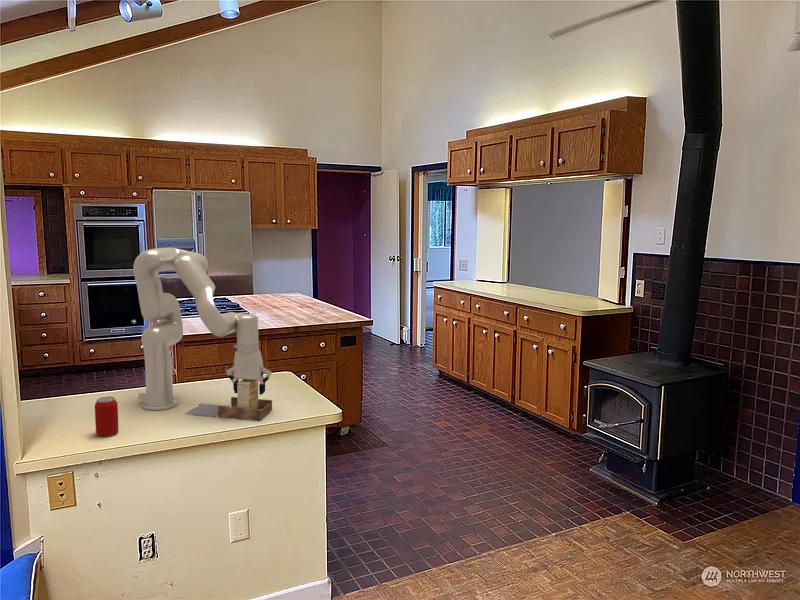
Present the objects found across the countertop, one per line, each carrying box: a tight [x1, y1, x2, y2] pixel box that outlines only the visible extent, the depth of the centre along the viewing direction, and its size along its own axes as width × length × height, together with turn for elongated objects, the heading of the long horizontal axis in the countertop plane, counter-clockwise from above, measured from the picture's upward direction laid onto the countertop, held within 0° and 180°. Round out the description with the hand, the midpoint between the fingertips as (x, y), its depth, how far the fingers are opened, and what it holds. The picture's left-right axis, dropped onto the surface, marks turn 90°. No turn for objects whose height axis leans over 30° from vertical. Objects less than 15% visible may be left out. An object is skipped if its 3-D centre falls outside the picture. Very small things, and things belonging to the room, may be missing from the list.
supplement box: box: [236, 379, 259, 409], centre depth 217 cm, size 8×5×13 cm, turn 168°
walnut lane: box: [217, 396, 273, 422], centre depth 218 cm, size 16×12×4 cm
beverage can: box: [94, 396, 119, 437], centre depth 194 cm, size 7×7×12 cm
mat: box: [184, 402, 230, 418], centre depth 220 cm, size 12×12×1 cm
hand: (249, 393), depth 216 cm, fingers open, 9 cm apart
